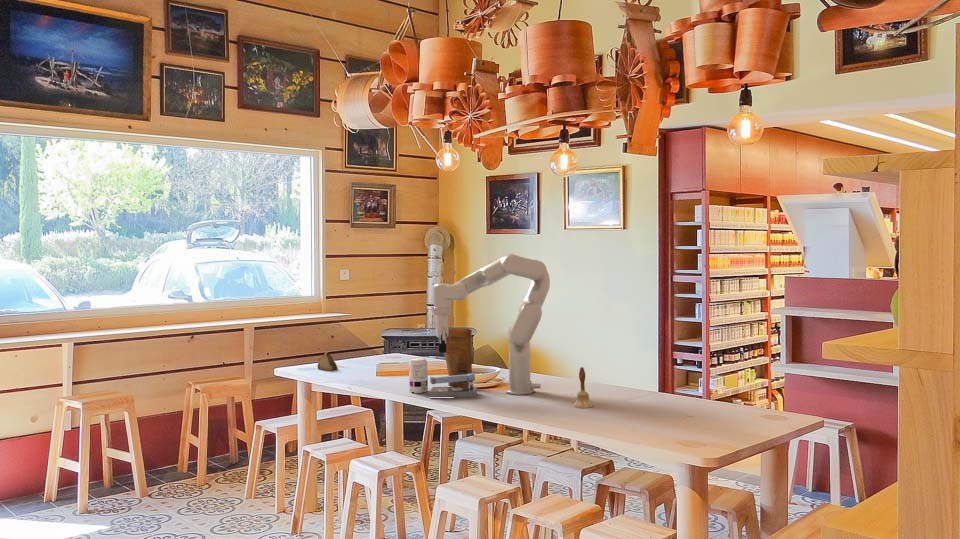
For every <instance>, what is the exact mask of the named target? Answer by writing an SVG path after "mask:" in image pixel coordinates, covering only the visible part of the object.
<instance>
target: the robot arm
mask: <svg viewBox="0 0 960 539" xmlns="http://www.w3.org/2000/svg"><path fill="white" fill-rule="evenodd" d="M510 275H513V276H517V277H521V278H524V279H528V280H529V279H530V284H529V287H528V289H527V291H526V294H525V297H524V298H523V301H522V302H521V304H520V305H519V310H518V315H517V317H516V319H515V321H514V322H513V323H511V324H509V325H510V326H509V327H508V330H507V342H508V383H509V384H508V385H509V387H508V388H506V389H505V393H506V394H509V395H515V396H518V395H519V396H522V395H523V396H524V395H530V394H533V393H534V392H535V389H541V388H542V386H541V385H542V384H541V383H533V382H532V380H531V346H530V342H531V340H532V338H533V337H534V334H535V332H536V330H537V328H538V325H539V324H540V322H541V318H542V316H543V310H542V307H543V305H544V303H545V300H546V298H547V296H548V293H549V290H550V287H551V280H550V274H549V272H548V270H547V266H546V264H545V263H544V262H542V261H540V260H538V259H532V258H526V257H523V256H520V255H517V254H514V253H506V254H505V255H503V256H502V257H500V258H498V259H495V260H494V261H492V262H490V263H488V264H486V265H484V266H483V267H481V268H479V269H478V270H477V271H475V272H473V273H471V274H469V275H467V276H465V277H463V278H462V279H460V280H458V281H455V282H454V283H453V284H449V283H441V282H440V283H435V284H434V285H433V316H435V326H434V330H435V331H434V332H435V333H434V334H435V336H436V337H437V338H438V342H439V343H438V353H439V354H440V353H441V354H442V353H443V354H444V353H446V337H448V328H449V316H450V315H452V309H451V308H452V305H451V304H452V303H451V300H453V301H463V300H465V299H466V298H467V297H468V295H470V294H471V293H473V292H475V291H477V290H479V289H482V288H484V287H489V286H492V285H494V284H495V283H497V282H499V281H501V280H502V279H504V278H506V277H508V276H510Z"/></svg>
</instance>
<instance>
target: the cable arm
mask: <svg viewBox="0 0 960 539" xmlns="http://www.w3.org/2000/svg"><path fill="white" fill-rule="evenodd" d="M467 380H468V381H473V382H474V381H476V374H475V373H472V374H467V375H466V374H465V375H454V376H449V375H445V376H435V377H433V376H431V377H430V384H431V385H437V384H447V383H449V382H460V381H467Z"/></svg>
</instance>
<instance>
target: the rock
mask: <svg viewBox="0 0 960 539" xmlns="http://www.w3.org/2000/svg"><path fill="white" fill-rule="evenodd" d="M316 365H317V369H318V370H324V371H336V370H339V368H338V365H337V363H336V361H335V360H334V358H333V356H332V355H331V354H330V353H329V352H328V351H325V353H324V354H323V355H322V356H321V357H320V358H319V360H318V363H317V364H316Z"/></svg>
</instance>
